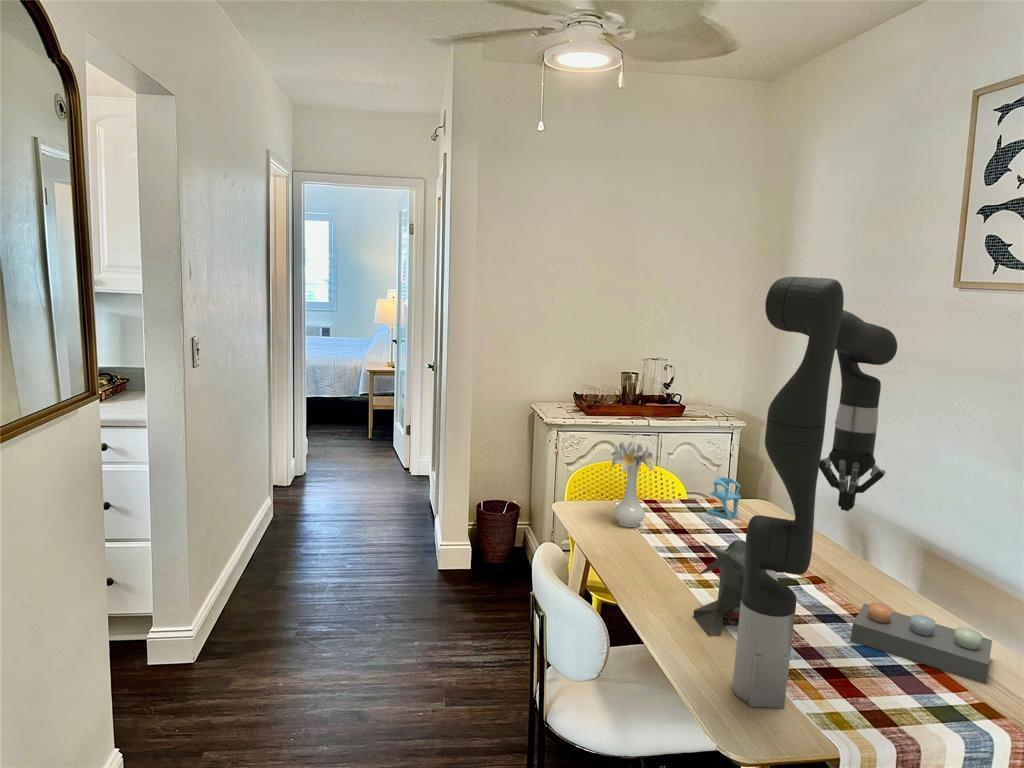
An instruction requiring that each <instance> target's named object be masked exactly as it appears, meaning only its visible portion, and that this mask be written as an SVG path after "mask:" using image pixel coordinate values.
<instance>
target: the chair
mask: <svg viewBox="0 0 1024 768" xmlns="http://www.w3.org/2000/svg"><path fill="white" fill-rule="evenodd" d="M729 484H733V485H735V486H736V487H737V488H736V489H735V493H734V492H731V491H729V489H730V487H729ZM718 486H721V487H723V488H724V490H719V491H718ZM713 487H714V490H713V491H711V496H713V497H716V498H717V499H718V500H719V502H721V504H722V506H723V507H718V508H712V509H708V510H707V509H706V514H707V515H708V514H709V515H711V516H715V517H719V518H723V519H725V520H729V521H732V519H735V520H737V519H738V510H739V509H738V507H739V500H740V499H742V495H740V494H739V493H740V492H739V491H740V489H741V484H739V483H738V482H737V481H736V480H735V479H732V478H729V477H724V476H721V477H718V478H716V479H715V480H714V481H713ZM731 500H733V512H732V511H730V510H729V507H728V505H727V502H728V501H731ZM722 511H723V512H725V514H724V513H720V512H722Z"/></svg>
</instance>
